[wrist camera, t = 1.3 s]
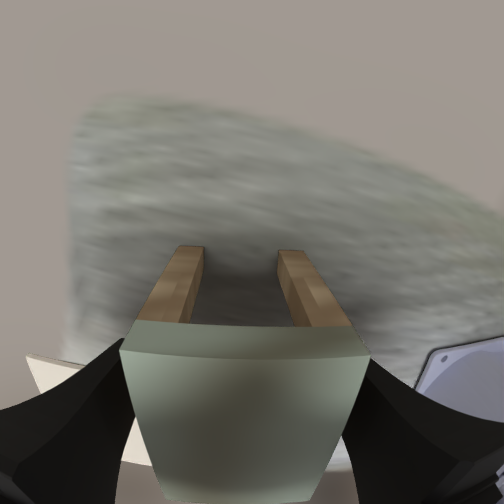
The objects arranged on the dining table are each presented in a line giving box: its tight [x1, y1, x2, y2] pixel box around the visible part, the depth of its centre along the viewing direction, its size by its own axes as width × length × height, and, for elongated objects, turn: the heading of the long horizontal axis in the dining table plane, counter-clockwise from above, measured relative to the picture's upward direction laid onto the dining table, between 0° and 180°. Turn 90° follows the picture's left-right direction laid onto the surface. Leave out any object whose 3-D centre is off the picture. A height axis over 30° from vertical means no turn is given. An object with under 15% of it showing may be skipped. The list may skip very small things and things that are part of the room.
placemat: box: [26, 353, 152, 466], centre depth 15 cm, size 11×9×1 cm
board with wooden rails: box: [119, 246, 371, 504], centre depth 10 cm, size 5×7×7 cm
